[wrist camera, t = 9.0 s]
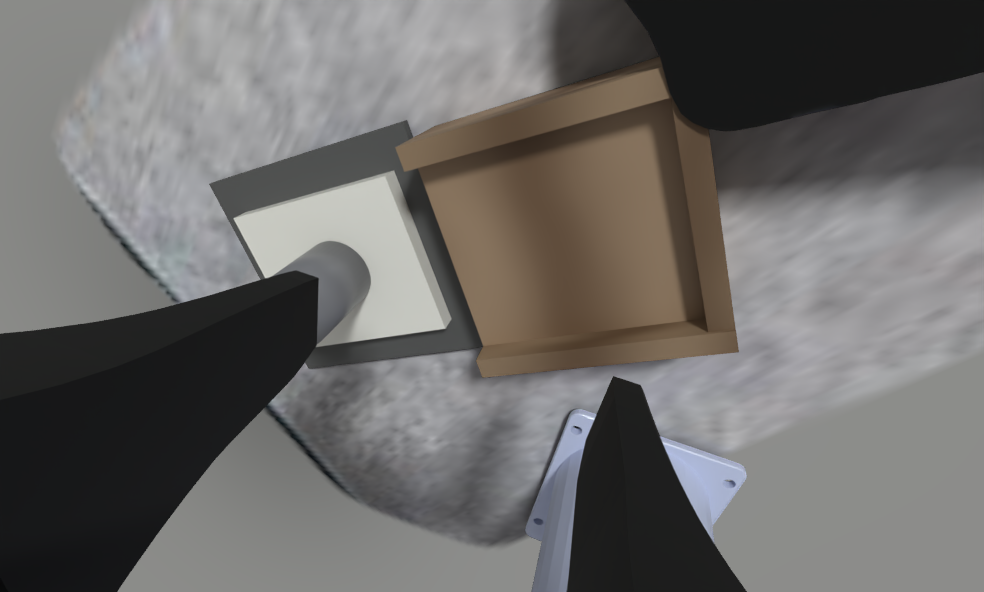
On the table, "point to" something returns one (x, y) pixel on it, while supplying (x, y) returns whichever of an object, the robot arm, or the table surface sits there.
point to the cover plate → (374, 240)
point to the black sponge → (805, 53)
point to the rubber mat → (344, 167)
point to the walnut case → (582, 225)
